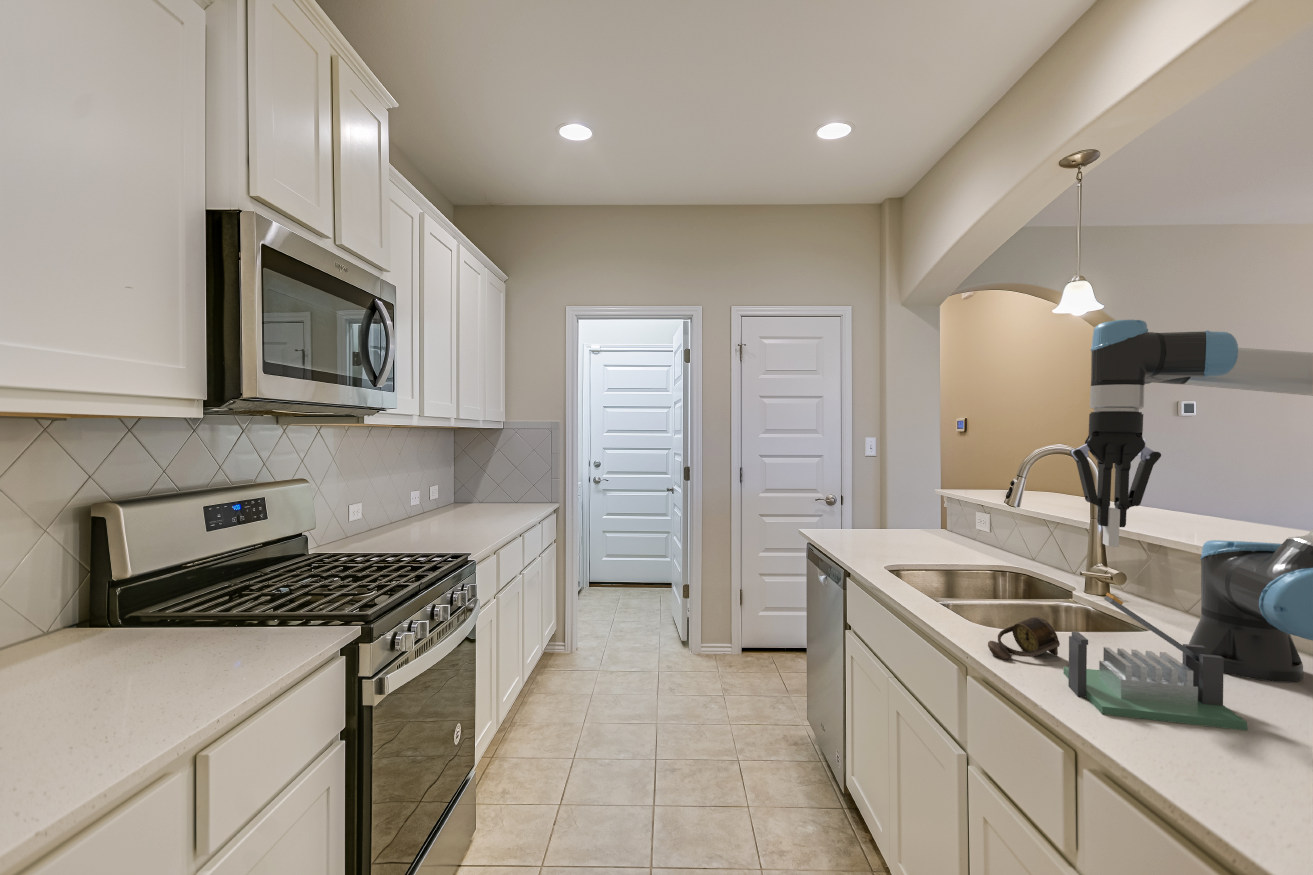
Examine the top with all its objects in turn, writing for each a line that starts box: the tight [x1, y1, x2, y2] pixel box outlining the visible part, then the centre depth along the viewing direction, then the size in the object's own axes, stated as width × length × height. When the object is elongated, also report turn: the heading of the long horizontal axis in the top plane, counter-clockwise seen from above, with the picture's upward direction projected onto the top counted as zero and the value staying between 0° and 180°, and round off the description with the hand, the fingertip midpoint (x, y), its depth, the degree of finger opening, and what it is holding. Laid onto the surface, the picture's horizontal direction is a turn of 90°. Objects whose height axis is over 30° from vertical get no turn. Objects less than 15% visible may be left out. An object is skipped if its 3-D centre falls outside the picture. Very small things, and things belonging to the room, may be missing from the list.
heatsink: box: [1098, 646, 1198, 706], centre depth 97 cm, size 10×8×5 cm
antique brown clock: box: [987, 615, 1061, 661], centre depth 117 cm, size 7×13×10 cm
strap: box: [1103, 592, 1199, 663], centre depth 97 cm, size 16×3×1 cm
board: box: [1063, 666, 1248, 731], centre depth 97 cm, size 18×16×1 cm
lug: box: [1068, 631, 1089, 698], centre depth 100 cm, size 1×4×9 cm, turn 164°
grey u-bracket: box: [1181, 643, 1225, 706], centre depth 95 cm, size 3×6×7 cm, turn 164°
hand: (1110, 545), depth 106 cm, fingers closed
